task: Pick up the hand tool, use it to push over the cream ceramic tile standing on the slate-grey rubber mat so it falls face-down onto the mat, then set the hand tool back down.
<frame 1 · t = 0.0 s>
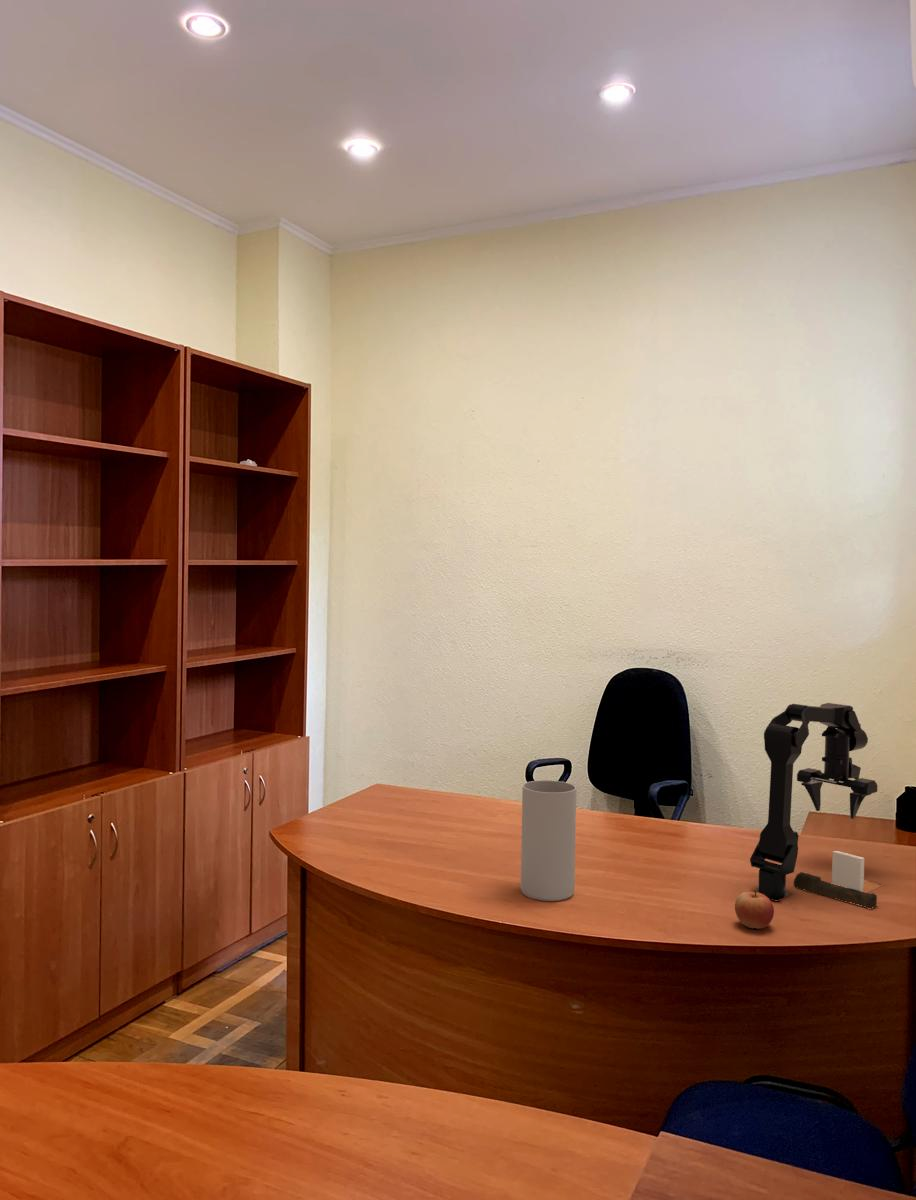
hand: (835, 814, 230), 15 cm above the table, tool pointing down, fingers open, 9 cm apart
mat: (854, 887, 219), on the table
hand tool: (831, 901, 210), on the table
tile: (847, 887, 216), point 1 cm above the table, touching mat
apple: (753, 927, 193), on the table
cylinder vase: (547, 893, 212), on the table
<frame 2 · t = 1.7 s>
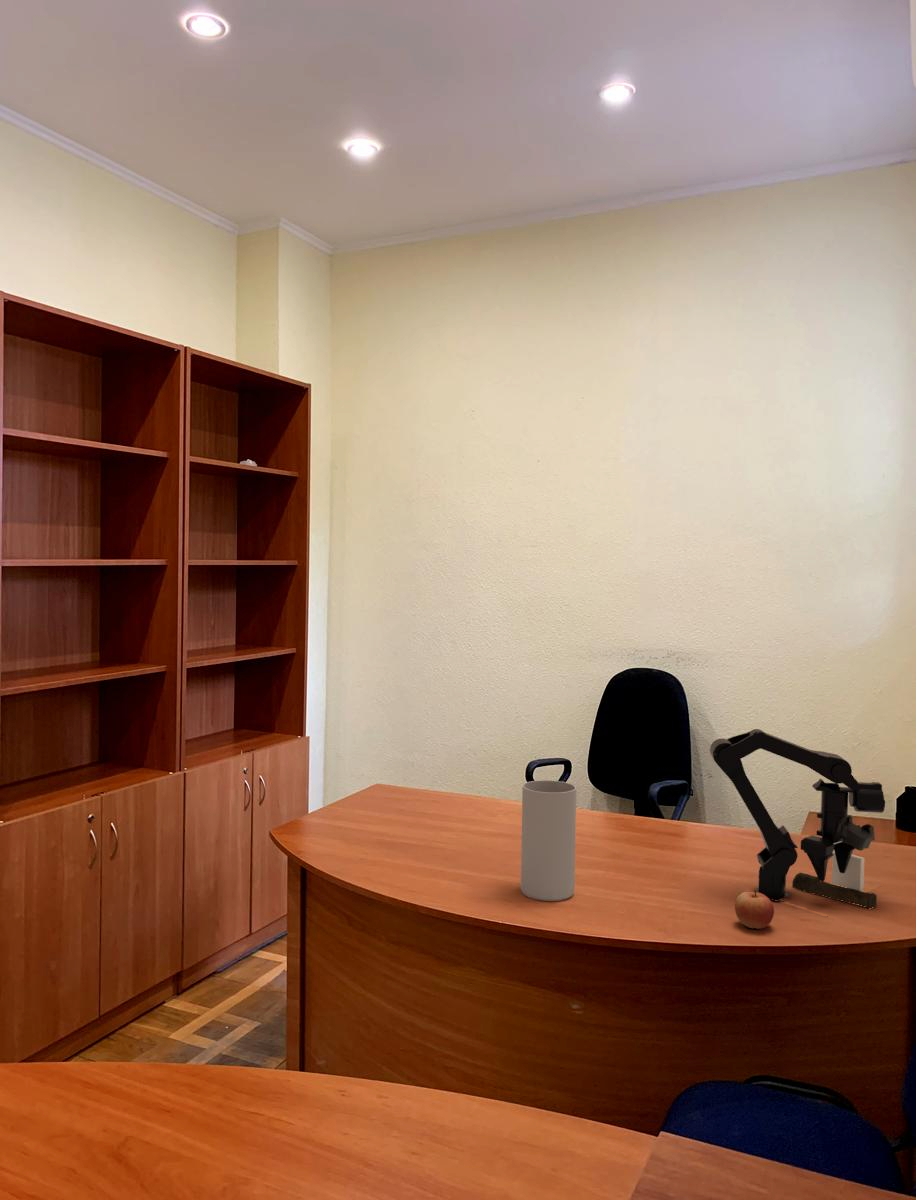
hand: (832, 876, 210), 5 cm above the table, tool pointing down, fingers open, 9 cm apart
nothing on the table moved.
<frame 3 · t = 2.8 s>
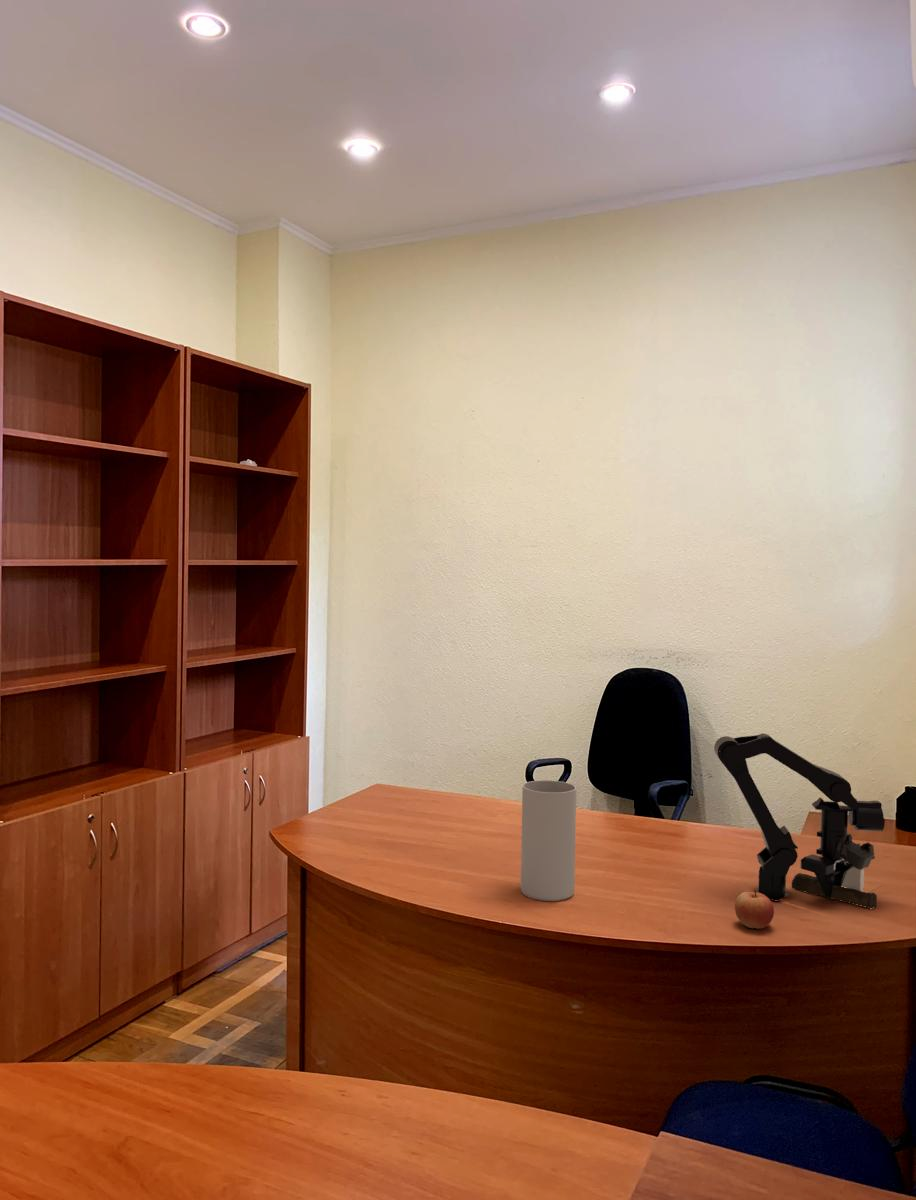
hand: (832, 895, 210), 1 cm above the table, tool pointing down, fingers closed on hand tool, 3 cm apart
hand tool: (831, 902, 209), on the table, touching gripper
everything else where it was.
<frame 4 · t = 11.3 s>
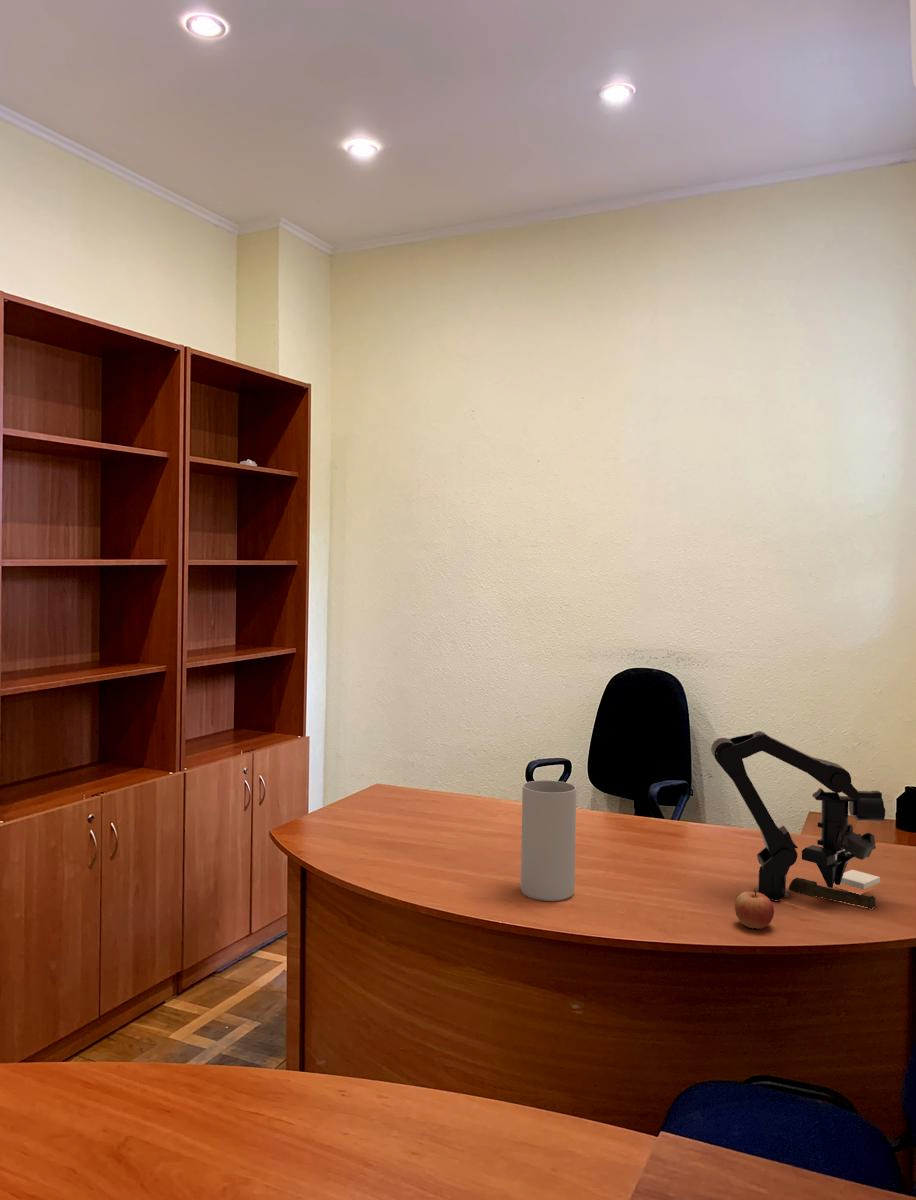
hand: (833, 886, 210), 3 cm above the table, tool pointing down, fingers open, 3 cm apart
hand tool: (830, 906, 209), on the table, touching gripper
tile: (849, 883, 217), point 2 cm above the table, tilted 90°, touching mat
everything else where it was.
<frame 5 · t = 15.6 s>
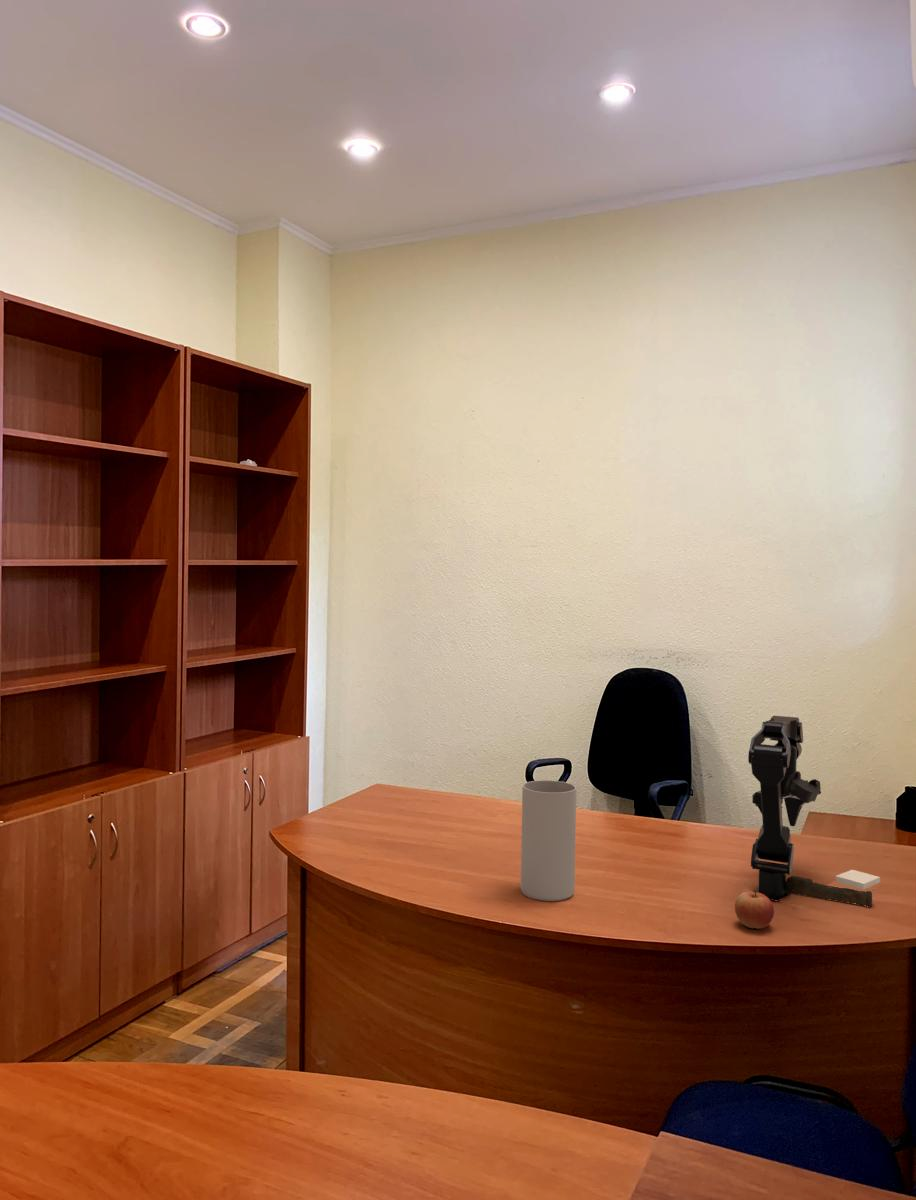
hand: (782, 829, 225), 12 cm above the table, tool pointing down, fingers open, 9 cm apart
hand tool: (826, 903, 209), on the table
everything else where it was.
at the end: tile tilted 90°; tile inside the target area (2.5 cm from its centre), point 1.5 cm above the table; hand tool touching table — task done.
